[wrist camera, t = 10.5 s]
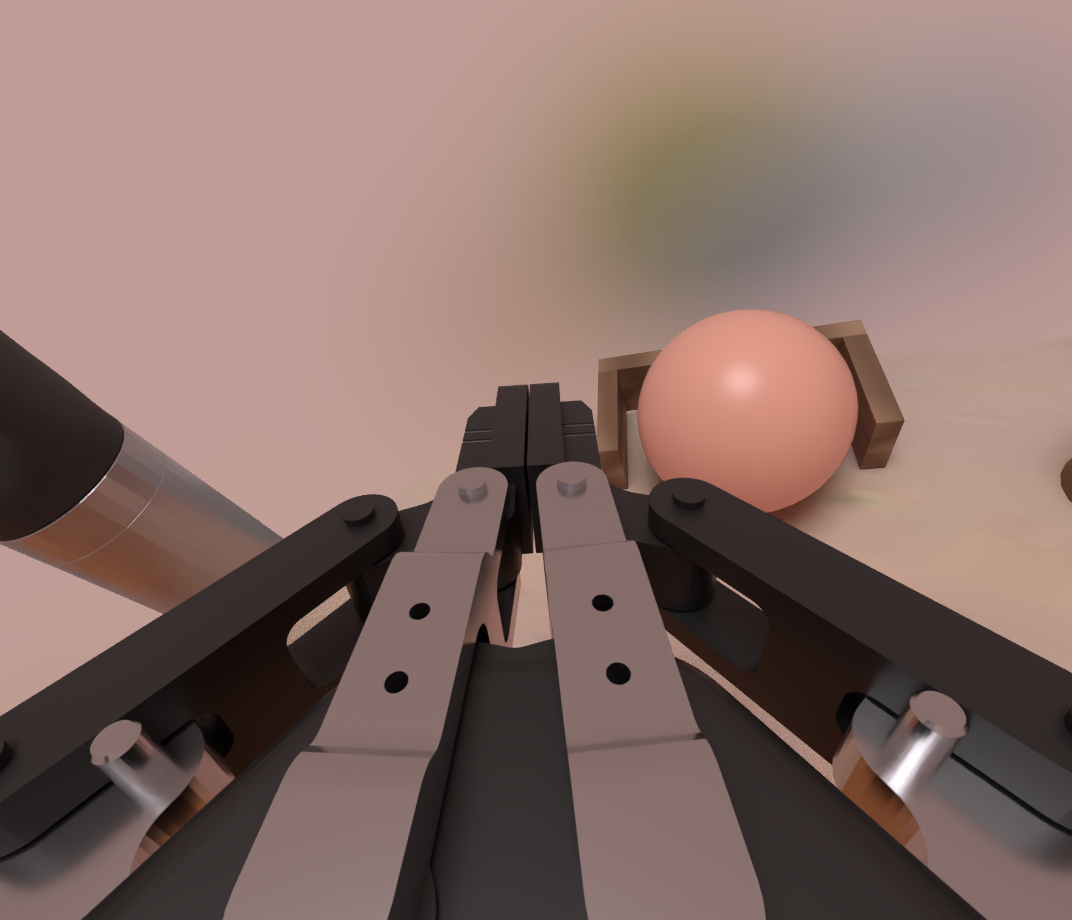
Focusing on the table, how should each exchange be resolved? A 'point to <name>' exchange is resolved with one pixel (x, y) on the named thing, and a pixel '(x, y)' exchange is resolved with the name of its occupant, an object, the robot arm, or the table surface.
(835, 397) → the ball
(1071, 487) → the cork
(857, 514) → the table surface
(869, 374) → the stall
